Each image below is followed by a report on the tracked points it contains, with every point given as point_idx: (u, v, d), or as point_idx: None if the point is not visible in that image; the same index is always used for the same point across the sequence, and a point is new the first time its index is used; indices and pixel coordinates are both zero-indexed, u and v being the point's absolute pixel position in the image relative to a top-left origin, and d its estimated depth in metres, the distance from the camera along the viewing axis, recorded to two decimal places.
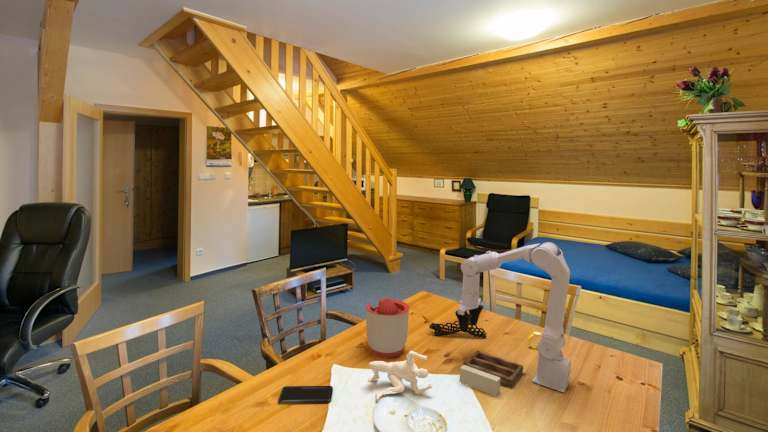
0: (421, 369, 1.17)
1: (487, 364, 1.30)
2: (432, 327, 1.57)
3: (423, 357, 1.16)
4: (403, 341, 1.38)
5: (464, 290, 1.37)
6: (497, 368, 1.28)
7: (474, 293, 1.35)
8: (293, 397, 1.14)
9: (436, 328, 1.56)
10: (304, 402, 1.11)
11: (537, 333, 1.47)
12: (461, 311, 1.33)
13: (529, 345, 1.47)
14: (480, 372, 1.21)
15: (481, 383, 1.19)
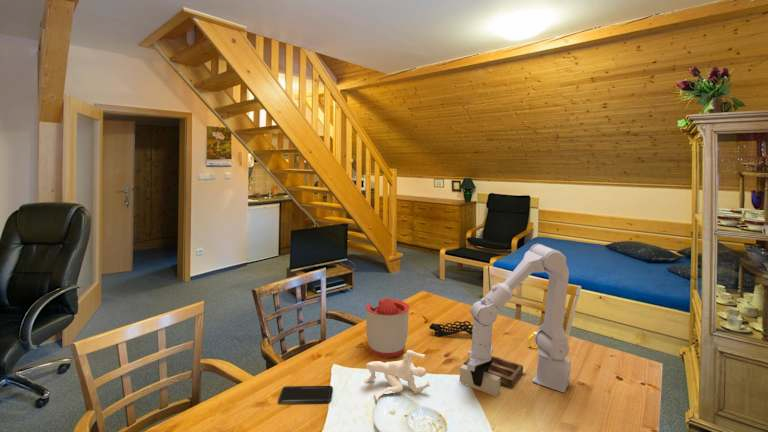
0: (419, 368, 1.18)
1: None
2: (432, 327, 1.56)
3: (421, 356, 1.17)
4: (403, 341, 1.38)
5: (481, 342, 1.16)
6: (497, 368, 1.28)
7: (486, 344, 1.16)
8: (293, 397, 1.14)
9: (436, 328, 1.55)
10: (304, 402, 1.11)
11: None
12: (471, 366, 1.14)
13: (529, 345, 1.47)
14: None
15: None
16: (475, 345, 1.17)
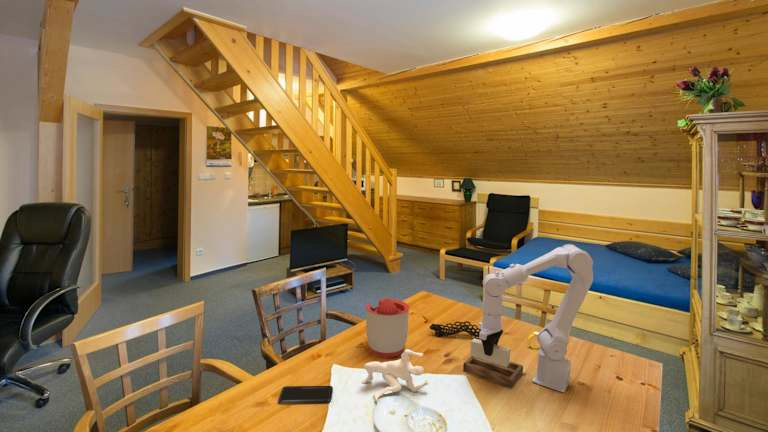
0: (417, 367, 1.19)
1: (487, 364, 1.30)
2: (433, 328, 1.56)
3: (419, 355, 1.17)
4: (403, 341, 1.38)
5: (489, 313, 1.21)
6: (497, 368, 1.28)
7: (497, 315, 1.21)
8: (293, 397, 1.14)
9: (437, 329, 1.55)
10: (304, 402, 1.11)
11: (537, 333, 1.47)
12: (483, 335, 1.19)
13: (529, 345, 1.47)
14: None
15: (492, 355, 1.24)
16: (486, 316, 1.22)
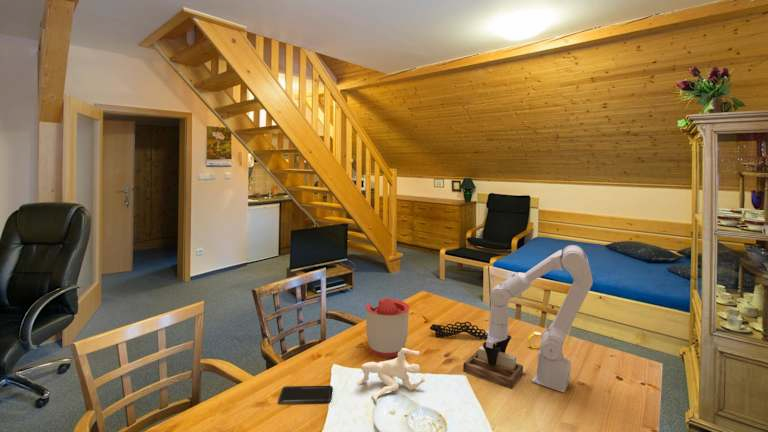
0: (413, 365, 1.20)
1: (487, 364, 1.30)
2: (433, 328, 1.55)
3: (416, 353, 1.18)
4: (403, 341, 1.38)
5: (493, 321, 1.28)
6: (497, 368, 1.28)
7: (503, 324, 1.27)
8: (293, 397, 1.14)
9: (437, 329, 1.55)
10: (304, 402, 1.11)
11: (537, 333, 1.47)
12: (490, 344, 1.24)
13: (529, 345, 1.47)
14: None
15: (499, 362, 1.30)
16: (493, 325, 1.28)
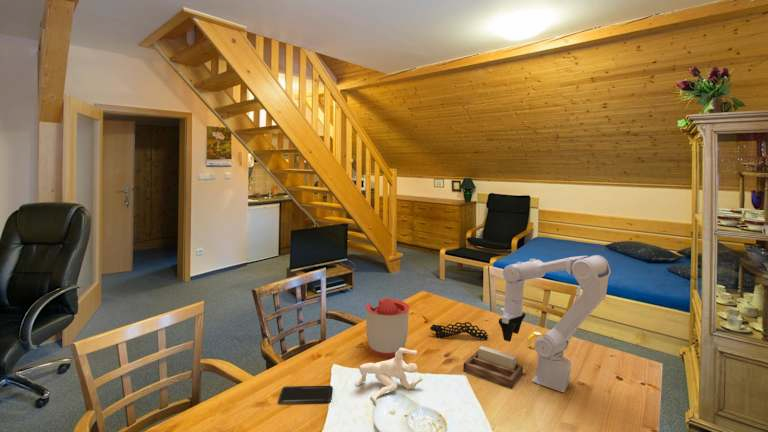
0: (411, 364, 1.20)
1: (487, 364, 1.30)
2: (433, 329, 1.55)
3: (413, 352, 1.19)
4: (403, 341, 1.38)
5: (506, 297, 1.33)
6: (497, 368, 1.28)
7: (518, 301, 1.31)
8: (293, 397, 1.14)
9: (437, 330, 1.54)
10: (304, 402, 1.11)
11: (537, 333, 1.47)
12: (506, 319, 1.28)
13: (529, 345, 1.47)
14: (497, 352, 1.31)
15: (499, 362, 1.30)
16: (508, 301, 1.32)
